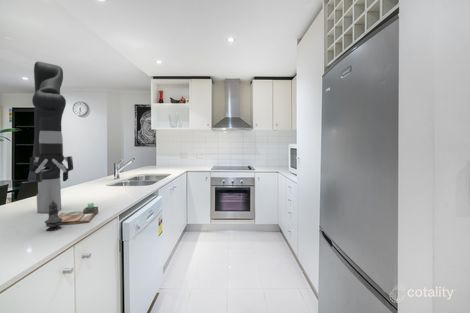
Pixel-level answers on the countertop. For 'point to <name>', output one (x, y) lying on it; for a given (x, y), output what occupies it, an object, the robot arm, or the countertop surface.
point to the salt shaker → (53, 218)
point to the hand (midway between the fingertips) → (52, 181)
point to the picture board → (78, 216)
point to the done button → (91, 206)
